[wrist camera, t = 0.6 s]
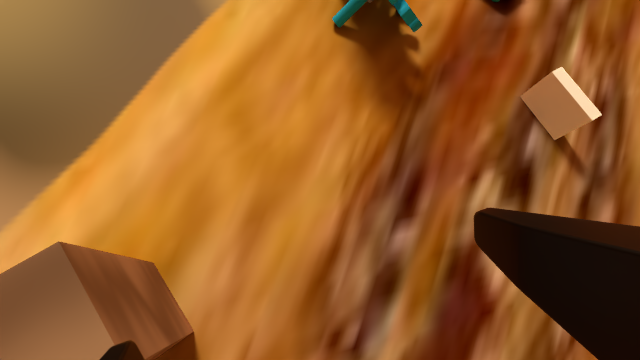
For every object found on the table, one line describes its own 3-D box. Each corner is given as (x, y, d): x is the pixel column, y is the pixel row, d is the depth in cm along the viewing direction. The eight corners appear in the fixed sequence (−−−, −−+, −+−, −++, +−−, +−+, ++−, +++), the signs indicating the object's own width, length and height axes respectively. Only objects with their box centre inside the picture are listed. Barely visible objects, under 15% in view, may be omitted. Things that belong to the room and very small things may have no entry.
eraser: (528, 91, 30) (562, 66, 27) (562, 135, 29) (602, 114, 26) (518, 96, 30) (551, 71, 26) (553, 140, 29) (592, 120, 25)
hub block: (193, 331, 20) (127, 369, 11) (113, 389, 19) (-47, 493, 9) (153, 262, 21) (58, 241, 12) (73, 313, 19) (-111, 336, 10)
